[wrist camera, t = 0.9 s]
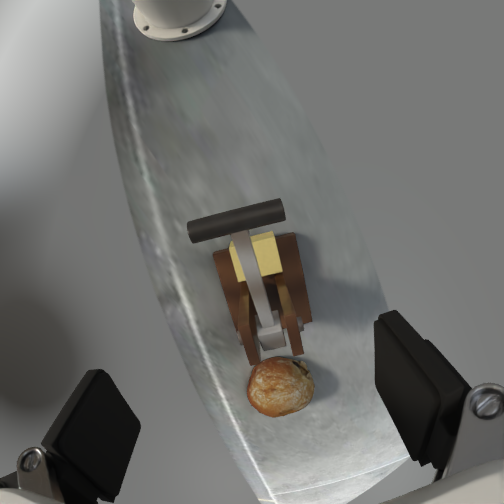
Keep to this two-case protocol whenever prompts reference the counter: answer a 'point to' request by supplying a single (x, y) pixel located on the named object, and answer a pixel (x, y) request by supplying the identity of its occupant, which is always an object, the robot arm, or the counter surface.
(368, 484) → the counter surface
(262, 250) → the butter
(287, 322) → the cutter
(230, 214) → the arm
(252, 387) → the bread roll
